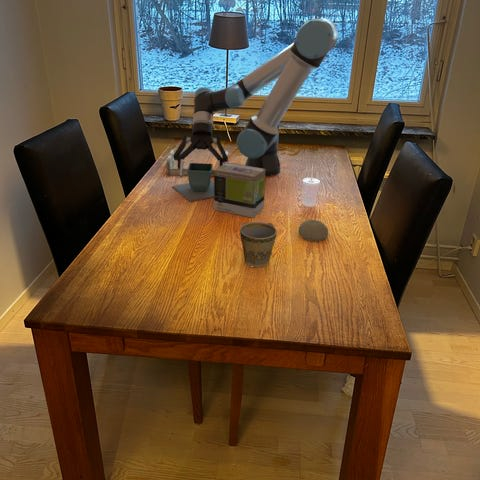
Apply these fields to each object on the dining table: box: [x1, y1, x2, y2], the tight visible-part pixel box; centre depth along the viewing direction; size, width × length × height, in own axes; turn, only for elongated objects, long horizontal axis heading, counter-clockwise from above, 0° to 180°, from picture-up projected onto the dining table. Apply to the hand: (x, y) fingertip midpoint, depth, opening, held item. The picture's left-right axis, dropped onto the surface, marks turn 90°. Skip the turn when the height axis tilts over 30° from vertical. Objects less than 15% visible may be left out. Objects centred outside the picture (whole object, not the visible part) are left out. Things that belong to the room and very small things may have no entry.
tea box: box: [213, 162, 266, 219], centre depth 158 cm, size 15×10×15 cm
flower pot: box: [187, 162, 214, 192], centre depth 173 cm, size 9×9×9 cm
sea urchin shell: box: [298, 219, 329, 242], centre depth 144 cm, size 9×8×8 cm
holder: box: [166, 148, 229, 177], centre depth 196 cm, size 16×24×6 cm, turn 89°
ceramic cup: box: [239, 221, 278, 268], centre depth 129 cm, size 13×10×10 cm
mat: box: [171, 180, 214, 203], centre depth 175 cm, size 16×16×1 cm
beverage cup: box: [301, 166, 321, 207], centre depth 164 cm, size 6×6×14 cm
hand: (199, 177), depth 170 cm, fingers open, 13 cm apart
